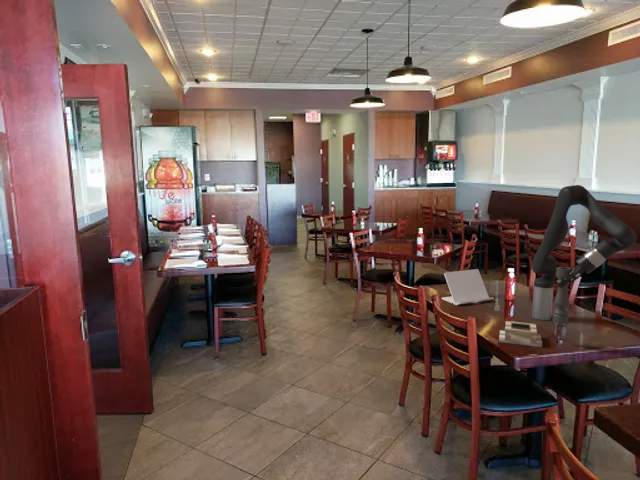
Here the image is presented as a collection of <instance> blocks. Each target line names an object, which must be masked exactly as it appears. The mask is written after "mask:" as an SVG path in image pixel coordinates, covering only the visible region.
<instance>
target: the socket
mask: <svg viewBox="0 0 640 480" xmlns="http://www.w3.org/2000/svg"><path fill="white" fill-rule="evenodd" d="M541 335H542V334H539V333H538V331H537V325H536V323H530V322H523V321H522V322H521V321H509V320H505V328H504V330H501V329H500V330H499V336H498V337H499V338H498V343H502V344H503V343H504V344H505V343H506V344H512V345H520V346H527V347H529V346H530V347H538V348H543V341H542V336H541Z"/></svg>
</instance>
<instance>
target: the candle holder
mask: <svg viewBox="0 0 640 480" xmlns="http://www.w3.org/2000/svg"><path fill="white" fill-rule="evenodd" d="M570 272H571V267H568V266H557V269H556V277H557V280H556V281H557V282H556V283H557V284H558V283H560V282H561V281H562V280H564V279H565V278H566V277H567V276H568V274H569V273H570ZM569 285H570V283H568V284H566V285H565V286H564V287H562V288H559V287H558V286H557V292H556V294H555V298H554V299H553V300H554V301H553V303H554V306H555V309H554V310H553V314H552V322H553V324H557V325H568V324H569V315H568V314H569V312H568V310H567V309H568V307H569V306H570V299H569V294H568V286H569Z"/></svg>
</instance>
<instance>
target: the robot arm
mask: <svg viewBox="0 0 640 480" xmlns="http://www.w3.org/2000/svg"><path fill="white" fill-rule="evenodd" d="M559 190H560V191H559V192H558V195H557V198H556V201H555V205H554V209H553V213H552V215H551V218H550V220H549V223H548V225H547V227H546V230H545V233H544V236H543V237H542V241H541V243H540V245H539V247H538V249H537V251H536V253H535V255H534V256H533V258H532V261H531V270H532V272H533V273H535V274H537V275H538V274H540V275H541V274H542V275H541V277H538V278H536V279H535V280H534V282H533V294H532V295H533V298H532V311H531V312H532V313H531V314H532V315H531V317H532V318H533V319H534V320H535V319H536V320H539V321H549V320H550V321H551V320H552V315H553V314H552V311H553V300H554V285H555V282H556V283H557V280H556V277H557V275H556V274H557V267H558V266H557V265H558V264H557V260H556V257H554V256H553V255H550V254H551V253H552V252H553V251H554V250H556V249H557V248H558V247H559V246H560V245H562V244H563V242H564V241H565V240H566V236H567V234H568V233H569V223H568V222H569V221H568V219H567V214H568V212H569V209H570V208H571V206H578V205H580V206H582V207H584V208H585V209H587V210H588V213H589V215H590V218H591V220H592V221H593V222H594V223H595V224H596V225H597V226H598V227H600V228H601V229H602V230H604V231H605V232H608V233H609V234H610V235H611V236H612V237H613V238H612V239H610V240H607V239H604V240H602V241H600V242H599V243H598V244H596V245H595V246H593V247H592V248H590V249H589V250H587V251H586V252H585V253H583V254H582V255H581V256H579V258H577V259H576V260H575V263H576V264H577V265H572V266H571V267H570V268H571V272H570V273H569V274H568V276H567V277H566V278H565V279H564V280H562V281H561V282H560V283H557V285H556V286H557V288H558V287H559V288H562V287H564V286H565V285H566V284H568V283H569V284H572V283H573V282H576V280H578V279H580V278H581V277H582V274H583V272H585V273H586V274H590V273H592V272H593V271H594V270H595V269H597V268H598V267H600V266H601V265H603V264H604V262H606V261H607V260H608V259H609V258H610V257H612V256H614V255H615V254H616V253H619V252H621V251H623V250H625V249H628V248H629V247H631V246H632V245H633V244H634V243H635V242H636V241H637V238H638V237H637V233H636V232H635V231H634V230H633V228H631V227H630V225H628V224H627V223H625V222H623V221H622V220H620V219H619V218H618V217H616V216H615V215H614V214H612V213H611V212H610V211H609V210H607V209H606V208H605V207H604V206H603V205H602V204H600V203H599V201H598V200H597V199H596V198H595V197H594V196H593V195H592V194H591V193H590V191H589V190H588V189H587V188H586V187H584V186H583V185H581V184H575V185H574V184H573V185H567V186H564V187H562V188H561V189H559ZM569 284H568V285H569Z"/></svg>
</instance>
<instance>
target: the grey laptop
mask: <svg viewBox="0 0 640 480" xmlns="http://www.w3.org/2000/svg"><path fill="white" fill-rule="evenodd" d="M443 275H444V278H445V280H446V284H447V286H448V289H449V290H448V291H449V293H450V295H451V296H444V297H441V300H443V301H446V302H448V303H450V304H452V303H453V304H452V305H455V306H461V304H462V305H466V304H467V305H469V304H474V303H482V302H490V301H492V300H494V297H490V296H489V293H488V291H487V288H486V286H485V283H484V280H483V278H482V276H481V273H480V271H479V269H478V268H475V269H466V270H457V271H449V272H444V273H443Z"/></svg>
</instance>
